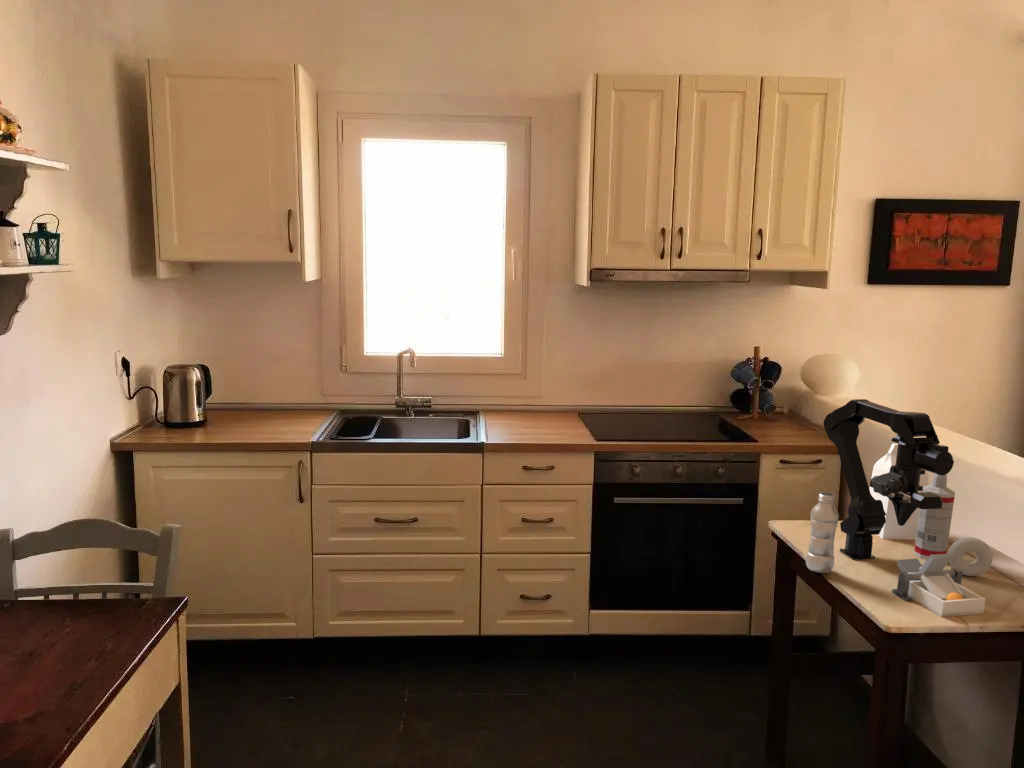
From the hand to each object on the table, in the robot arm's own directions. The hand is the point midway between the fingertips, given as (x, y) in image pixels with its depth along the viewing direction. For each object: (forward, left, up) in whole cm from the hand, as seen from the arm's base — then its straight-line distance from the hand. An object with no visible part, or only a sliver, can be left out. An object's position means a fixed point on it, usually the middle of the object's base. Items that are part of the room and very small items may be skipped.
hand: (900, 525), depth 199 cm
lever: (+9, 0, -12) cm, 15 cm away
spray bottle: (-10, +19, -13) cm, 25 cm away
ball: (+19, 0, -11) cm, 22 cm away
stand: (+11, 0, -13) cm, 17 cm away
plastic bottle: (-5, -18, -13) cm, 23 cm away
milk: (-28, +22, -13) cm, 37 cm away
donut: (+3, +19, -13) cm, 23 cm away
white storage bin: (+16, 0, -13) cm, 21 cm away
